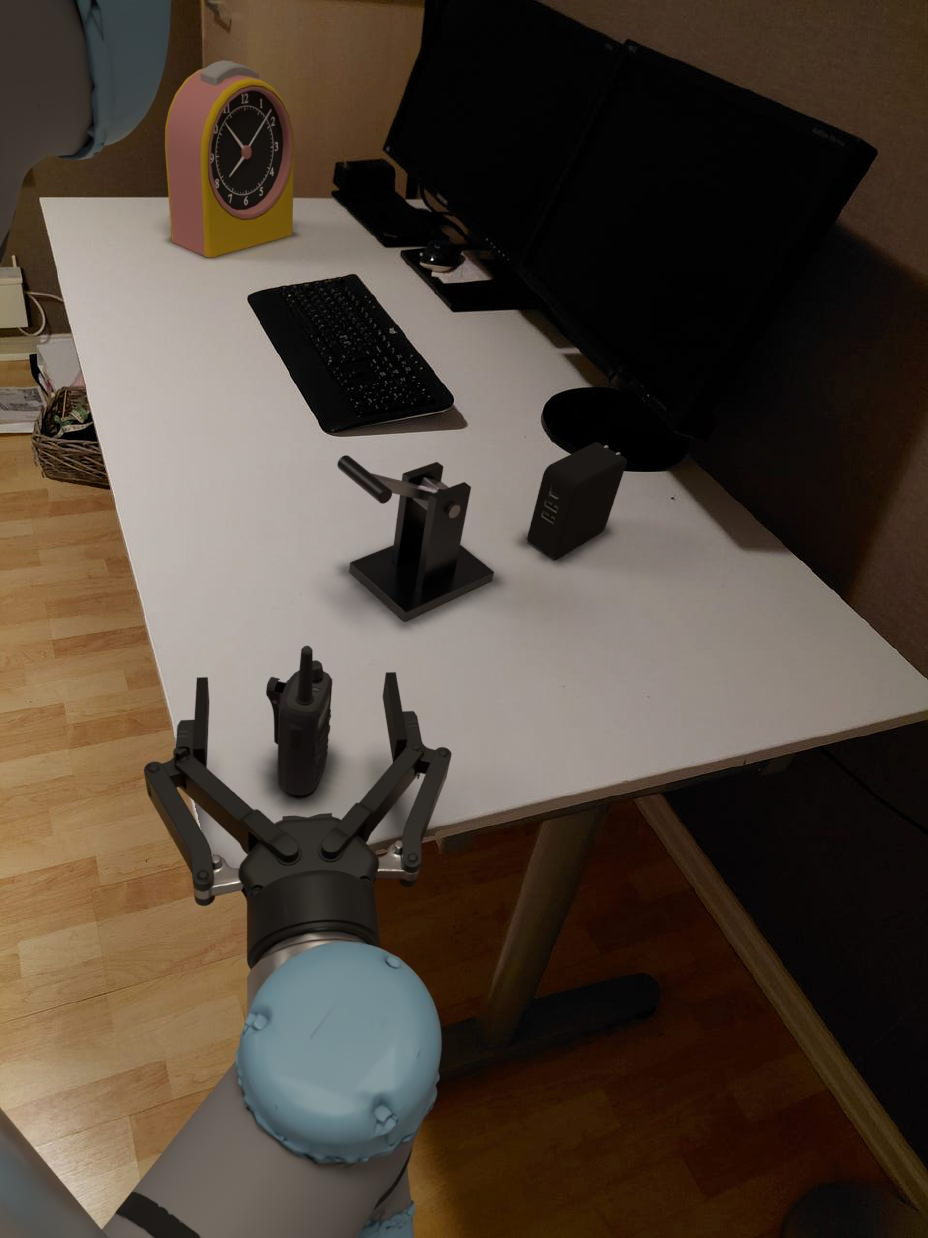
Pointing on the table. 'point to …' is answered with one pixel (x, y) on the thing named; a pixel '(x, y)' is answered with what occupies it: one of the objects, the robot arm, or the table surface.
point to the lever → (388, 484)
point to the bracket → (424, 552)
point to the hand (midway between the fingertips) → (298, 686)
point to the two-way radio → (301, 724)
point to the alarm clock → (228, 161)
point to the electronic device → (575, 499)
